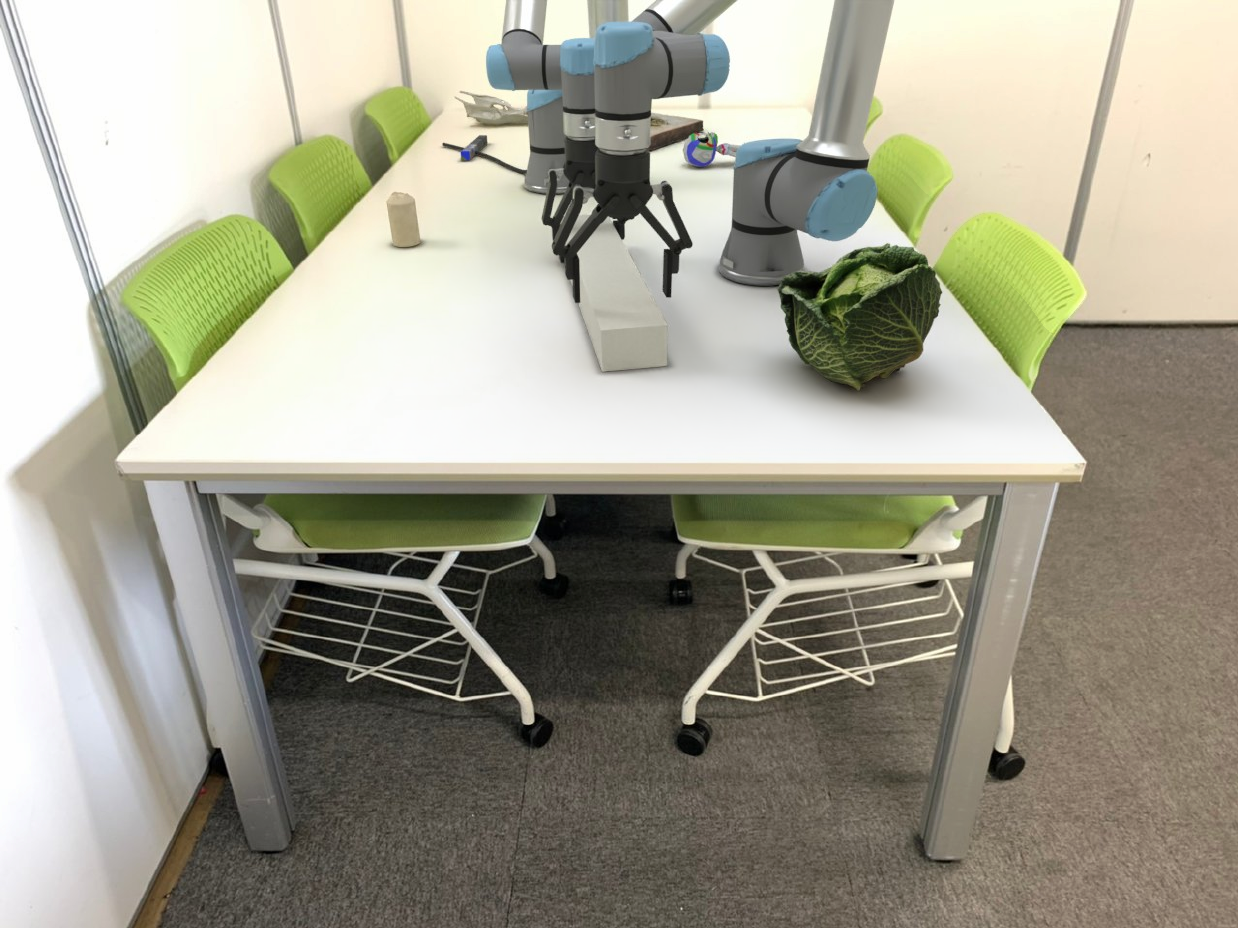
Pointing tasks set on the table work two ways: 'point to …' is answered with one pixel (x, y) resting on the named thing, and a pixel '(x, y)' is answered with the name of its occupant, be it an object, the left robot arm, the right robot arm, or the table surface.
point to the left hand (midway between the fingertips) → (589, 258)
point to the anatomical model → (493, 110)
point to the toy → (705, 149)
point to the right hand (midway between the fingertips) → (622, 297)
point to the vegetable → (862, 313)
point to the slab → (618, 303)
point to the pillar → (473, 147)
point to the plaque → (671, 129)
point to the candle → (403, 219)
